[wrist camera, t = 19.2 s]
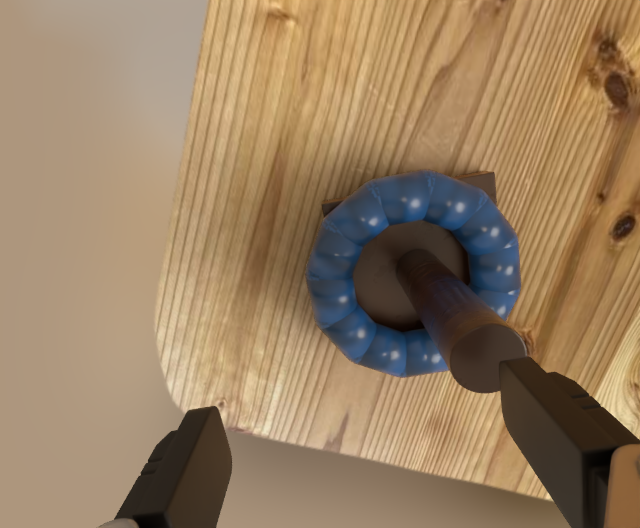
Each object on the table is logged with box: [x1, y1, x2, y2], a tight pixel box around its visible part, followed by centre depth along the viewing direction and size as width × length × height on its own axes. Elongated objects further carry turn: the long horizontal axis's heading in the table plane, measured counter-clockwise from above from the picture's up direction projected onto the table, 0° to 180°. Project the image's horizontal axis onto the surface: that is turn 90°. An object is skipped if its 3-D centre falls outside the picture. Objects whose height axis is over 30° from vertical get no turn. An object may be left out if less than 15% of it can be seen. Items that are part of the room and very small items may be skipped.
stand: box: [322, 171, 527, 393], centre depth 18 cm, size 9×9×12 cm
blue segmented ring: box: [305, 169, 521, 378], centre depth 21 cm, size 11×11×2 cm
